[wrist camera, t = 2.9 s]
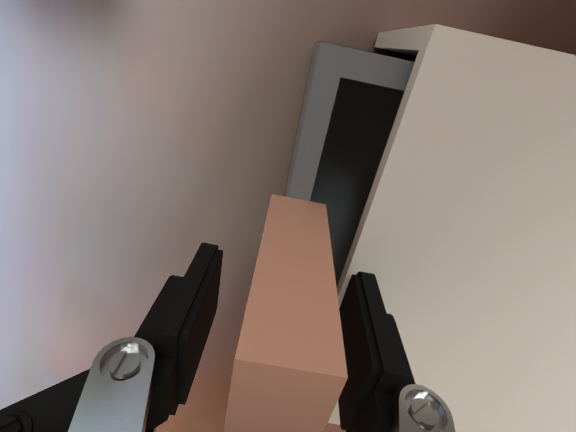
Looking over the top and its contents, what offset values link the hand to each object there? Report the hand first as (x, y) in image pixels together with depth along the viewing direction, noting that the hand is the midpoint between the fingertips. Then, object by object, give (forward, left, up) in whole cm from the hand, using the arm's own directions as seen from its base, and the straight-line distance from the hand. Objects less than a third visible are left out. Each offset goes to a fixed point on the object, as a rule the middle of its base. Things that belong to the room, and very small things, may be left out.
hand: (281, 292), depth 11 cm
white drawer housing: (0, +10, -8) cm, 13 cm away
